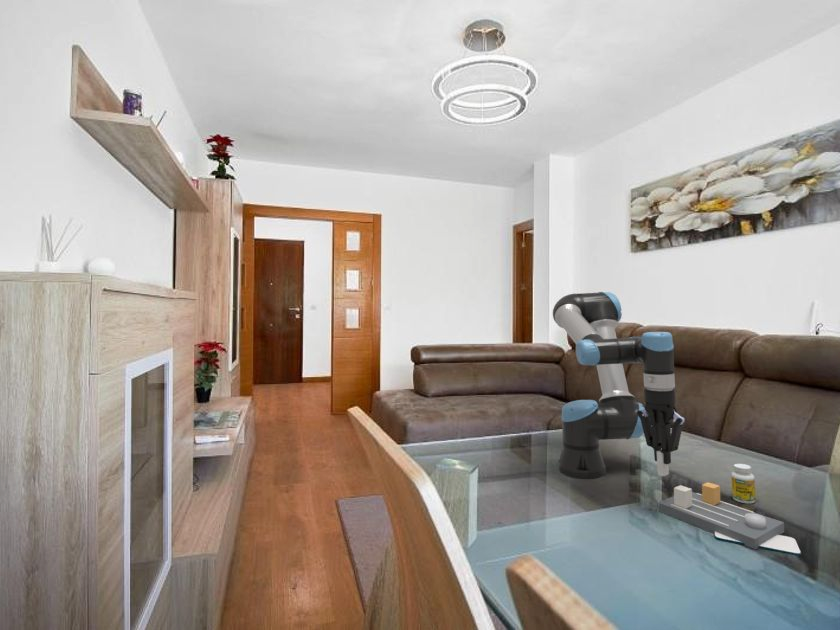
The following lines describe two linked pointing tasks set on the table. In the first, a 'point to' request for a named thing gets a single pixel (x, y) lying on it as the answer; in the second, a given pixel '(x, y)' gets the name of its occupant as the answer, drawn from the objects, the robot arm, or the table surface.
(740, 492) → the supplement bottle
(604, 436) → the robot arm
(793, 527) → the table surface
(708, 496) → the slider orange
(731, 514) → the console
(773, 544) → the smartphone
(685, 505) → the slider ivory
